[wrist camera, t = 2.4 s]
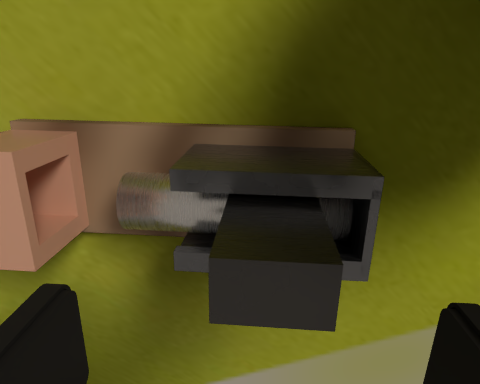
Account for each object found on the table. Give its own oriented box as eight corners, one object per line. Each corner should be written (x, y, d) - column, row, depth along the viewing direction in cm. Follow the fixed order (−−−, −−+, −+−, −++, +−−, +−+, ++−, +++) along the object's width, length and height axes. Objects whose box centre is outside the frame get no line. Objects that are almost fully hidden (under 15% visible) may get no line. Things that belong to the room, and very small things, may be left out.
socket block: (76, 131, 20) (11, 152, 15) (89, 225, 22) (35, 271, 17) (11, 129, 21) (-75, 149, 16) (29, 222, 23) (-41, 267, 18)
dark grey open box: (353, 148, 20) (384, 176, 14) (343, 229, 21) (367, 281, 16) (194, 143, 20) (169, 169, 15) (196, 223, 22) (174, 270, 17)
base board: (351, 128, 20) (355, 130, 19) (338, 237, 22) (341, 244, 22) (21, 118, 22) (9, 121, 21) (40, 222, 24) (31, 229, 23)
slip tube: (342, 172, 19) (404, 259, 10) (336, 224, 20) (388, 342, 11) (135, 165, 19) (32, 239, 11) (140, 215, 20) (48, 319, 12)
